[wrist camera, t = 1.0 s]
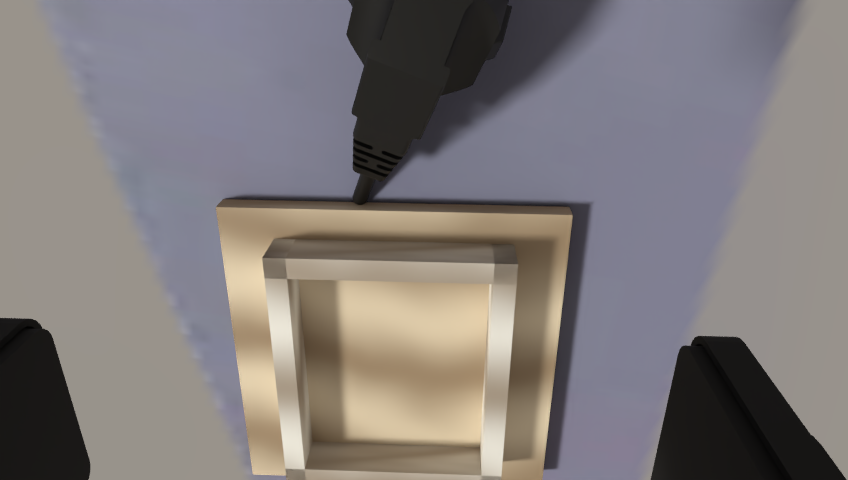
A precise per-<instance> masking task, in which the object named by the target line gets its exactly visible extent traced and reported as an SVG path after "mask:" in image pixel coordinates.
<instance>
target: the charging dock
mask: <svg viewBox="0 0 848 480" xmlns="http://www.w3.org/2000/svg"><path fill="white" fill-rule="evenodd" d="M216 211H217V219H218V226H219V233H220V240H221V247H222V255H223V262H224V269H225V276H226V283H227V291H228V298H229V305H230V312H231V319H232V327H233V334H234V341H235V348H236V355H237V363H238V370H239V377H240V384H241V391H242V399H243V406H244V413H245V420H246V428H247V435H248V442H249V449H250V456H251V464H252V471H253V474H259V475H286V480H542V477H543V468H544V460H545V451H546V442H547V434H548V425H549V416H550V408H551V399H552V391H553V382H554V373H555V365H556V356H557V347H558V339H559V330H560V321H561V313H562V304H563V296H564V287H565V278H566V270H567V261H568V252H569V244H570V235H571V226H572V218H573V214H572V212H571V210H570V208H569V207H557V206H511V205H465V204H419V203H374V202H366V203H365V204H363V205H358V204H356V203H354V202H328V201H282V200H236V199H223V200H222V201H221V202H220V203H219V204H218V205H217V207H216Z"/></svg>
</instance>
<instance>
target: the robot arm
mask: <svg viewBox="0 0 848 480" xmlns="http://www.w3.org/2000/svg"><path fill="white" fill-rule="evenodd" d="M89 475H90V461H89V457H88V454H87V450H86V447H85V444H84V441H83V437H82V434H81V431H80V427H79V424H78V421H77V417H76V414H75V411H74V407H73V404H72V401H71V397H70V394H69V391H68V387H67V384H66V381H65V377H64V374H63V371H62V367H61V364H60V361H59V358H58V354H57V351H56V347H55V344H54V341H53V338H52V336H51V334H50V333H49V331H48V330H45V329H42V327H41V325H40V324H39V323H38V322H37V321H36V320H33V319H16V318H14V319H12V318H0V480H88V479H89ZM651 480H846V478H845V477H844V476H843V474H842V473H841V472H840V470H839V469H838V467H837V466H836V465H835V463H834V462H833V460H832V459H831V458H830V457H829V455H828V454H827V452H826V451H825V450H824V448H823V447H822V445H821V444H820V443H819V442H818V441H817V440H816V439H815V438H814V437H813V436H812V435H810V433H809V432H808V430H807V429H806V428H805V426H804V425H803V423H802V422H801V421H800V419H799V418H798V417H797V415H796V414H795V412H794V411H793V410H792V408H791V407H790V405H789V404H788V403H787V401H786V400H785V399H784V397H783V396H782V394H781V393H780V392H779V390H778V389H777V387H776V386H775V385H774V383H773V382H772V380H771V379H770V378H769V376H768V375H767V373H766V372H765V371H764V369H763V368H762V366H761V365H760V364H759V362H758V361H757V360H756V358H755V357H754V355H753V354H752V353H751V351H750V350H749V349H748V347H747V346H746V344H745V343H744V342H743V341H742V340H741V339H740V338H738V337H715V336H697V337H695V338H694V340H693V341H692V343H691V346H682V347H681V349H680V350H679V353H678V357H677V362H676V366H675V371H674V376H673V380H672V385H671V389H670V394H669V398H668V403H667V408H666V412H665V417H664V421H663V426H662V430H661V435H660V440H659V444H658V449H657V453H656V458H655V462H654V467H653V472H652V476H651Z"/></svg>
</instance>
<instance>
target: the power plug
mask: <svg viewBox="0 0 848 480" xmlns="http://www.w3.org/2000/svg"><path fill="white" fill-rule="evenodd" d="M349 2H350V3H351V5H352V7H353V8H352V12H351V17H350V21H349V26H348V30H347V37H348V39H349V41H350V43H351V45H352V46H353V48H354V50H355V51H356V53H357V55H358V56H359V58H360V59H361V61H362V63H363V64H364V68H363V72H362V76H361V79H360V83H359V86H358V90H357V94H356V97H355V101H354V105H353V108H352V114H353V115H355V116H356V117H357V121H356V125H355V128H354V132H353V137H354V139H353V145H354V146H353V170H354V171H355V172H357V173H359V174H360V177H359V180H358V183H357V186H356V188H355V191H354V194H353V201H354V203H356V204H358V205H363V204H365V203H366V201H367V199H368V196H369V193H370V191H371V188H372V186H373V183H374V180H378V181H384V180H385V179H386V177H387V176H388V175H389V173H390V172H391V171H392V170H393V168H394V167H395V166H396V165H397V164H398V162H399V161H400V160H401V159H402V157H403V156H404V155H405V154H406V153H407V151H408V148H409V146H410V144H411V142H412V139H417V140H420V139H421V137H422V135H423V133H424V131H425V128H426V126H427V124H428V122H429V120H430V117H431V115H432V113H433V111H434V109H435V106H436V104H437V102H438V100H439V98H440V96H442V95H445V94H448V93H452V92H455V91H458V90H461V89H464V88H467V87H469V86H471V85H473V83H474V81H475V79H476V77H477V75H478V73H479V71H480V69H481V67H482V65H483V64H484V62H485V61H486V60H489V59H493V58H494V57H495V55H496V54H497V52H498V50H499V48H500V46H501V44H502V42H503V39H504V35H505V32H506V28H507V24H508V20H509V16H510V13H511V9H512V7H511V6H509V5H507V4H508V0H349Z"/></svg>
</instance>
